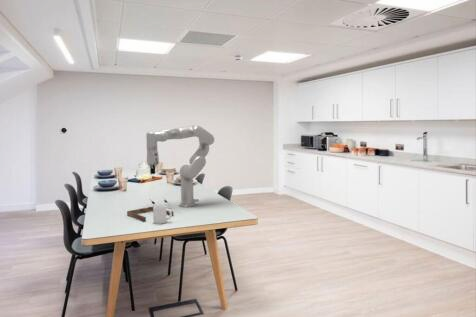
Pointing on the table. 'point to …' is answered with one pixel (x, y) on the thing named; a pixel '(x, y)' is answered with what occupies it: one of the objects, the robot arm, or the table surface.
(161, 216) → the mug
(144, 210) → the open wooden rail frame
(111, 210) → the table surface
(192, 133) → the robot arm
